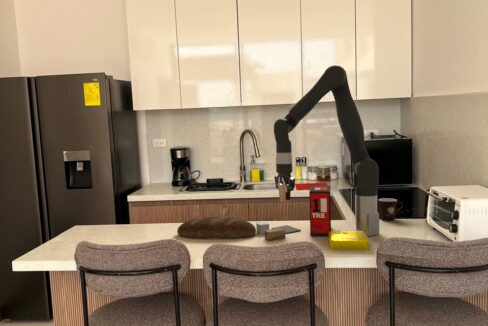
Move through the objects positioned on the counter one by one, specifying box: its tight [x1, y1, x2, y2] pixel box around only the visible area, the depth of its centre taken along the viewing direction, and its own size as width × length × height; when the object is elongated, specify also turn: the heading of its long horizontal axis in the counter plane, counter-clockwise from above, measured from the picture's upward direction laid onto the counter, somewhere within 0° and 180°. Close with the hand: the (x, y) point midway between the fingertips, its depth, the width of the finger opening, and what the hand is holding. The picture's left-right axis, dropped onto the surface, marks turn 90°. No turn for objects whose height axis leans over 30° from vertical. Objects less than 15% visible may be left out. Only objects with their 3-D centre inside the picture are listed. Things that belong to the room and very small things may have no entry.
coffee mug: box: [378, 197, 404, 222], centre depth 206 cm, size 12×9×10 cm
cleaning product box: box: [308, 185, 332, 238], centre depth 187 cm, size 16×9×20 cm, turn 168°
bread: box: [176, 216, 257, 240], centre depth 189 cm, size 16×36×8 cm, turn 82°
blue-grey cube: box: [255, 221, 270, 235], centre depth 190 cm, size 4×4×4 cm
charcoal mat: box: [270, 224, 302, 235], centre depth 193 cm, size 11×9×1 cm
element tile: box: [328, 229, 370, 252], centre depth 167 cm, size 15×15×5 cm
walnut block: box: [264, 228, 286, 242], centre depth 180 cm, size 4×8×4 cm, turn 114°
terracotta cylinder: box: [279, 184, 291, 204], centre depth 192 cm, size 4×4×8 cm
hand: (284, 198), depth 192 cm, fingers closed on terracotta cylinder, 4 cm apart
